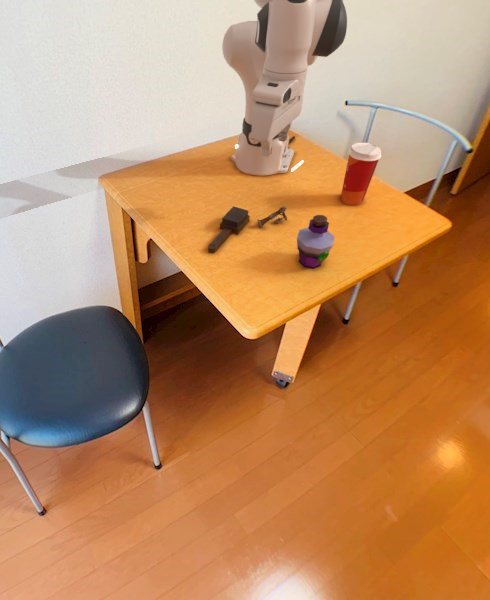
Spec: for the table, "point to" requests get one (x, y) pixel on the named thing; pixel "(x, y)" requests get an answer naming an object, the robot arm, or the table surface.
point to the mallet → (230, 227)
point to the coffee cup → (359, 172)
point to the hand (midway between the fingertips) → (274, 147)
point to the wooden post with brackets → (273, 215)
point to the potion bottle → (314, 242)
